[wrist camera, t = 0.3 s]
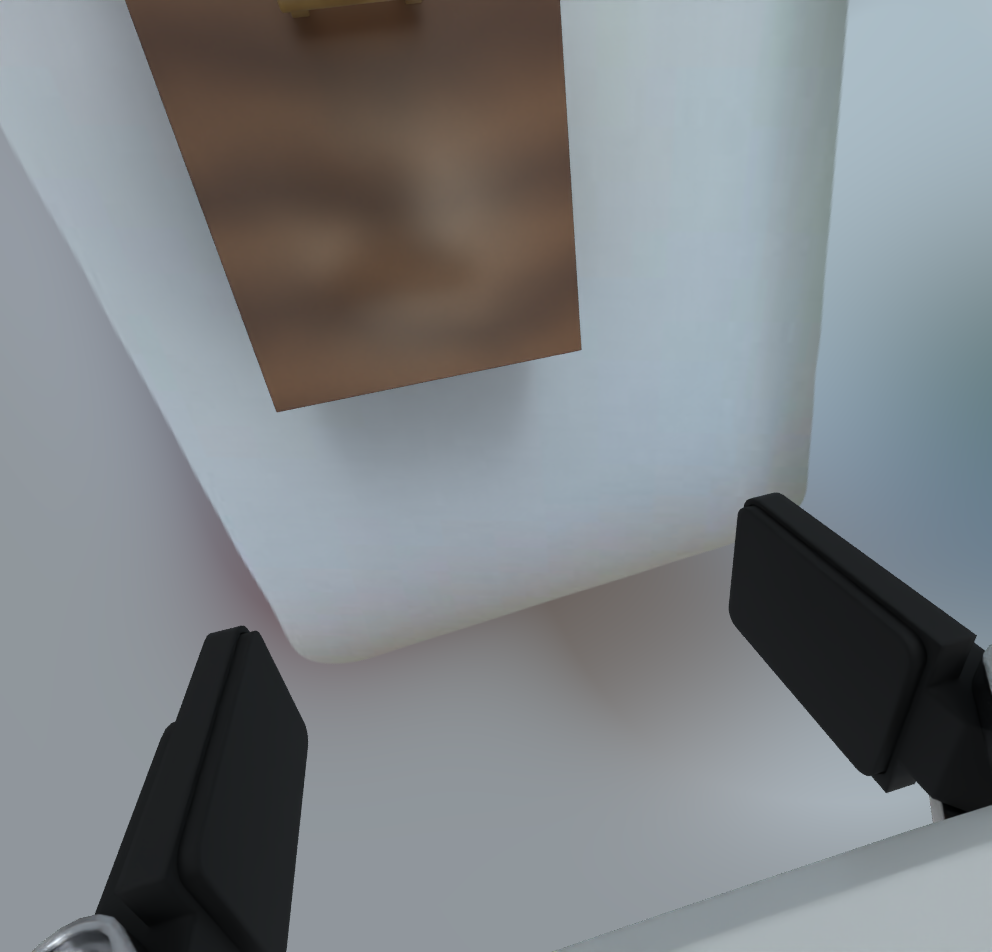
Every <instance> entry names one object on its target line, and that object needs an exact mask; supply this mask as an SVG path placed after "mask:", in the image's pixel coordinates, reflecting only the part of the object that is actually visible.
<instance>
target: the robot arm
mask: <svg viewBox="0 0 992 952" xmlns="http://www.w3.org/2000/svg"><path fill="white" fill-rule="evenodd" d="M729 613H730V617H731V620H732V622H733V624H734V625H735V626H736V628H737V629H738V630H739V631H740V632H741V634H742V635H743V636H744V637H745V638H746V639H747V640H748V642H749V643H750V644H751V645H752V646H753V648H754V649H755V650H756V651H757V652H758V654H759V655H760V656H761V657H762V658H763V659H764V661H765V662H766V663H767V664H768V665H769V667H770V668H771V669H772V670H773V671H774V672H775V674H776V675H777V676H778V677H779V678H780V679H781V681H782V682H783V683H784V684H785V685H786V687H787V688H788V689H789V690H790V691H791V692H792V694H793V695H794V696H795V697H796V698H797V699H798V701H799V702H800V703H801V704H802V705H803V706H804V707H805V709H806V710H807V711H808V712H809V714H810V715H811V716H812V717H813V718H814V719H815V720H816V722H817V723H818V724H819V725H820V727H821V728H822V729H823V730H824V731H825V732H826V734H827V735H828V736H829V737H830V738H831V739H832V741H833V742H834V743H835V744H836V745H837V747H838V748H839V749H840V750H841V751H842V752H843V754H844V755H845V756H846V757H847V758H848V759H849V761H850V762H851V763H852V764H853V765H854V766H855V768H857V770H858V771H860V772H861V773H862V774H864V775H866V776H872V777H873V778H874V780H875V781H876V782H877V783H878V784H879V785H880V786H881V788H882V789H883V790H884V791H885V792H886V793H888V792H891V791H894V790H897V789H900V788H903V787H906V786H909V785H912V784H915V782H916V781H917V783H918V784H919V785H920V786H921V787H922V788H923V789H924V790H925V791H926V792H927V793H928V794H929V798H930V806H931V813H932V819H933V823H932V824H929V825H926V826H923V827H920V828H916V829H913V830H910V831H907V832H904V833H901V834H898V835H895V836H892V837H889V838H886V839H883V840H881V841H877V842H874V843H872V844H868V845H865V846H863V847H860V848H856V849H853V850H851V851H848V852H845V853H842V854H839V855H836V856H833V857H830V858H827V859H824V860H821V861H818V862H815V863H812V864H809V865H806V866H803V867H800V868H797V869H794V870H791V871H788V872H785V873H782V874H779V875H776V876H773V877H770V878H767V879H764V880H761V881H758V882H755V883H752V884H750V885H747V886H744V887H741V888H738V889H735V890H732V891H729V892H726V893H723V894H720V895H717V896H714V897H711V898H708V899H705V900H702V901H700V902H696V903H693V904H691V905H688V906H685V907H682V908H679V909H676V910H673V911H670V912H667V913H664V914H661V915H659V916H655V917H653V918H649V919H647V920H644V921H641V922H638V923H635V924H632V925H629V926H626V927H623V928H620V929H617V930H614V931H612V932H609V933H606V934H603V935H600V936H597V937H594V938H591V939H588V940H585V941H582V942H580V943H577V944H573V945H571V946H568V947H565V948H562V949H559V950H556V951H553V952H992V645H990V646H989V647H988V648H987V649H986V651H985V650H983V649H982V648H981V647H979V646H978V645H977V644H975V643H974V641H975V638H976V636H977V635H975V634H974V633H972V632H971V631H970V630H968V629H967V628H965V627H964V626H963V625H961V624H960V623H959V622H957V621H956V620H955V619H953V618H952V617H951V616H949V615H948V614H946V613H945V612H944V611H942V610H941V609H940V608H938V607H937V606H935V605H934V604H933V603H931V602H930V601H928V600H927V599H926V598H924V597H923V596H921V595H920V594H919V593H918V592H916V591H915V590H913V589H912V588H911V587H909V586H908V585H906V584H905V583H904V582H902V581H901V580H900V579H898V578H897V577H895V576H894V575H893V574H891V573H890V572H888V571H887V570H886V569H884V568H883V567H882V566H880V565H879V564H878V563H876V562H875V561H873V560H872V559H871V558H869V557H868V556H866V555H865V554H864V553H862V552H861V551H860V550H858V549H857V548H856V547H854V546H853V545H851V544H850V543H849V542H847V541H846V540H845V539H843V538H841V537H840V536H839V535H838V534H836V533H835V532H833V531H832V530H831V529H829V528H828V527H827V526H825V525H823V524H822V523H821V522H820V521H818V520H817V519H815V518H814V517H813V516H811V515H810V514H809V513H807V512H806V511H804V510H803V509H802V508H800V507H799V506H798V505H796V504H795V503H794V502H792V501H791V500H789V499H788V498H787V497H785V496H784V495H782V494H780V493H771V494H767V495H763V496H759V497H755V498H751V499H748V500H747V501H746V502H745V504H744V508H742V509H740V510H739V512H738V518H737V528H736V538H735V548H734V558H733V568H732V579H731V589H730V599H729ZM307 750H308V735H307V730H306V726H305V723H304V721H303V719H302V717H301V715H300V713H299V711H298V709H297V707H296V705H295V703H294V701H293V699H292V697H291V695H290V693H289V691H288V689H287V687H286V685H285V683H284V681H283V679H282V677H281V675H280V673H279V671H278V669H277V667H276V665H275V663H274V661H273V659H272V657H271V655H270V653H269V651H268V649H267V647H266V645H265V643H264V640H263V638H262V637H261V635H260V633H259V632H258V631H252V632H249V630H248V629H247V628H246V627H245V626H238V627H234V628H230V629H226V630H222V631H218V632H215V633H210V634H209V635H208V636H207V637H206V639H205V641H204V644H203V647H202V650H201V652H200V655H199V658H198V661H197V663H196V666H195V669H194V672H193V674H192V678H191V680H190V683H189V686H188V688H187V691H186V694H185V697H184V699H183V702H182V705H181V708H180V711H179V713H178V716H177V719H176V722H173V723H171V724H170V725H169V726H168V727H167V728H166V729H165V731H164V733H163V736H162V737H161V740H160V742H159V745H158V748H157V750H156V753H155V756H154V758H153V761H152V764H151V766H150V769H149V772H148V774H147V777H146V780H145V782H144V785H143V788H142V790H141V793H140V796H139V798H138V801H137V804H136V806H135V809H134V811H133V814H132V817H131V820H130V822H129V825H128V828H127V830H126V833H125V835H124V838H123V841H122V843H121V846H120V849H119V852H118V854H117V857H116V860H115V862H114V865H113V868H112V870H111V873H110V875H109V879H108V881H107V884H106V886H105V889H104V891H103V894H102V897H101V899H100V902H99V905H98V907H97V910H96V913H95V915H92V916H88V917H83V918H80V919H78V920H76V921H74V922H72V923H70V924H68V925H66V926H64V927H62V928H60V929H59V930H57V931H56V932H55V933H54V934H52V935H51V936H50V937H48V938H47V939H46V940H44V941H43V942H42V943H41V944H39V945H38V946H37V947H36V948H35V949H34V950H33V951H32V952H286V949H287V940H288V931H289V921H290V912H291V902H292V893H293V883H294V874H295V864H296V855H297V845H298V836H299V826H300V817H301V807H302V798H303V797H302V796H303V788H304V778H305V769H306V759H307Z"/></svg>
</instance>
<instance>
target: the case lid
mask: <svg viewBox="0 0 992 952" xmlns="http://www.w3.org/2000/svg"><path fill="white" fill-rule="evenodd" d="M125 2H126V4H127V7H128V10H129V13H130V15H131V18H132V21H133V23H134V26H135V29H136V32H137V34H138V37H139V40H140V42H141V45H142V48H143V51H144V53H145V56H146V59H147V61H148V64H149V67H150V70H151V72H152V75H153V78H154V80H155V83H156V86H157V89H158V91H159V94H160V97H161V100H162V102H163V105H164V108H165V110H166V113H167V116H168V119H169V121H170V124H171V127H172V129H173V132H174V135H175V138H176V140H177V143H178V146H179V148H180V151H181V154H182V157H183V159H184V162H185V165H186V167H187V170H188V173H189V176H190V178H191V181H192V184H193V186H194V189H195V192H196V195H197V197H198V200H199V203H200V205H201V208H202V211H203V214H204V216H205V219H206V222H207V224H208V227H209V230H210V233H211V235H212V238H213V241H214V243H215V246H216V249H217V252H218V254H219V257H220V260H221V262H222V265H223V268H224V271H225V273H226V276H227V279H228V282H229V284H230V287H231V290H232V292H233V295H234V298H235V301H236V303H237V306H238V309H239V311H240V314H241V317H242V320H243V322H244V325H245V328H246V330H247V333H248V336H249V339H250V341H251V344H252V347H253V349H254V352H255V355H256V358H257V360H258V363H259V366H260V368H261V371H262V374H263V377H264V379H265V382H266V385H267V387H268V390H269V393H270V396H271V398H272V401H273V404H274V406H275V409H276V412H281V411H286V410H291V409H296V408H301V407H305V406H310V405H315V404H320V403H325V402H330V401H335V400H340V399H345V398H349V397H354V396H359V395H364V394H369V393H374V392H379V391H384V390H389V389H393V388H398V387H403V386H408V385H413V384H418V383H423V382H428V381H432V380H437V379H442V378H447V377H452V376H457V375H462V374H467V373H472V372H476V371H481V370H486V369H491V368H496V367H501V366H506V365H511V364H516V363H520V362H525V361H530V360H535V359H540V358H545V357H550V356H555V355H560V354H564V353H569V352H574V351H579V350H581V336H580V320H579V303H578V287H577V271H576V255H575V238H574V222H573V206H572V190H571V174H570V157H569V141H568V125H567V109H566V92H565V76H564V60H563V44H562V27H561V11H560V0H125Z"/></svg>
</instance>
